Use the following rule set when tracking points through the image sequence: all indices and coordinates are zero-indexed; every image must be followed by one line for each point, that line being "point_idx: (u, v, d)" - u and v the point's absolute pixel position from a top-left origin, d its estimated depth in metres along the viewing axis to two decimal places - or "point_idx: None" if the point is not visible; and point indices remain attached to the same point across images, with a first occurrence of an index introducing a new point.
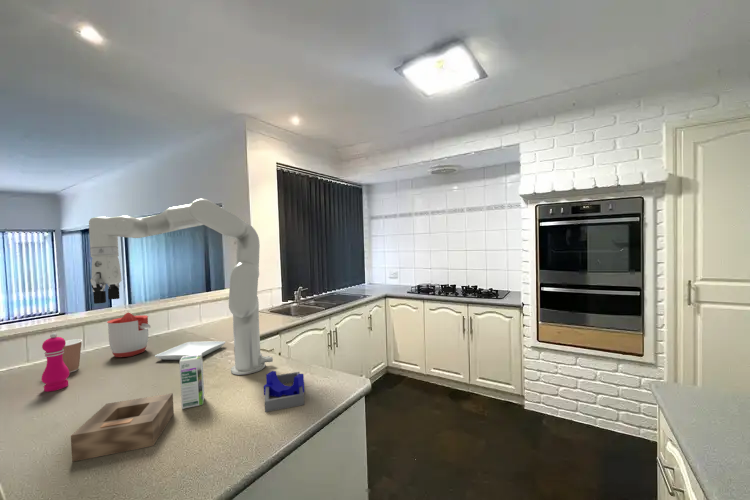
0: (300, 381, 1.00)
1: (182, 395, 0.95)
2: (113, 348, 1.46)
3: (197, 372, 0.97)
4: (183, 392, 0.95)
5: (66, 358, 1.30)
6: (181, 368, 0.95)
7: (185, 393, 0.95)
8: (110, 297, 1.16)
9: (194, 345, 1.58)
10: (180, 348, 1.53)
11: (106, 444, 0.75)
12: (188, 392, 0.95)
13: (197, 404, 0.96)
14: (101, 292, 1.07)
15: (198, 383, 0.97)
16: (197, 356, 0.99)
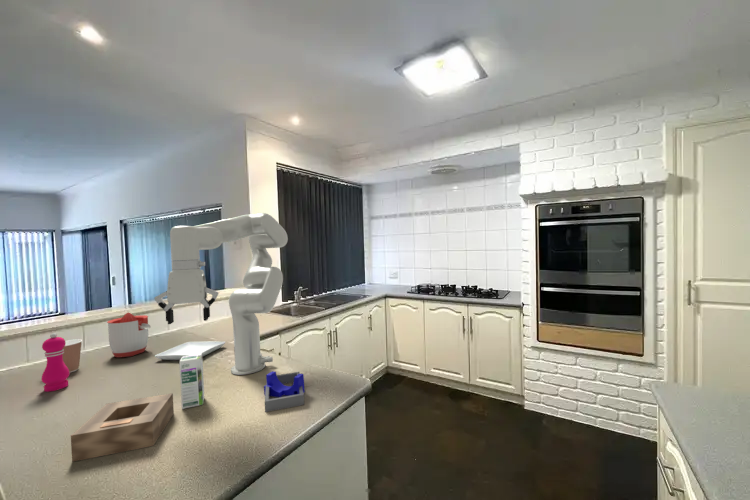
0: (300, 381, 1.00)
1: (182, 395, 0.95)
2: (113, 348, 1.46)
3: (197, 372, 0.97)
4: (183, 392, 0.95)
5: (66, 358, 1.30)
6: (181, 368, 0.95)
7: (185, 393, 0.95)
8: (171, 321, 0.96)
9: (194, 345, 1.58)
10: (180, 348, 1.53)
11: (106, 444, 0.75)
12: (188, 392, 0.95)
13: (197, 404, 0.96)
14: None
15: (198, 383, 0.97)
16: (197, 356, 0.99)
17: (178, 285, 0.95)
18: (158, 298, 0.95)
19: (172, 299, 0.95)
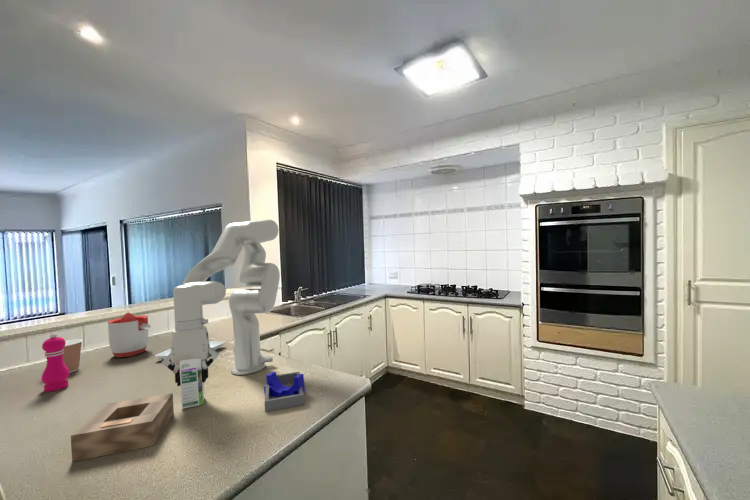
0: (301, 381, 1.00)
1: (182, 395, 0.95)
2: (113, 348, 1.46)
3: (197, 372, 0.97)
4: (183, 392, 0.95)
5: (66, 358, 1.30)
6: (181, 368, 0.95)
7: (185, 393, 0.95)
8: (180, 383, 0.97)
9: None
10: None
11: (106, 444, 0.75)
12: (188, 392, 0.95)
13: (197, 404, 0.96)
14: None
15: (198, 383, 0.97)
16: None
17: (181, 345, 0.96)
18: (165, 361, 0.96)
19: (175, 359, 0.95)
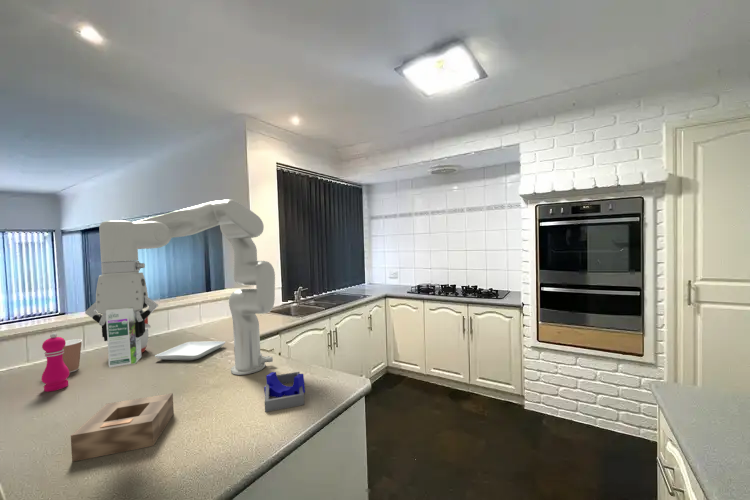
0: (301, 381, 1.00)
1: (109, 351, 0.79)
2: None
3: (129, 324, 0.81)
4: (110, 347, 0.79)
5: (66, 358, 1.30)
6: (108, 318, 0.79)
7: (113, 349, 0.79)
8: None
9: (194, 345, 1.58)
10: (180, 348, 1.53)
11: (106, 444, 0.75)
12: (116, 348, 0.79)
13: (128, 362, 0.80)
14: None
15: (129, 337, 0.81)
16: None
17: (109, 291, 0.80)
18: (89, 311, 0.80)
19: (101, 308, 0.79)
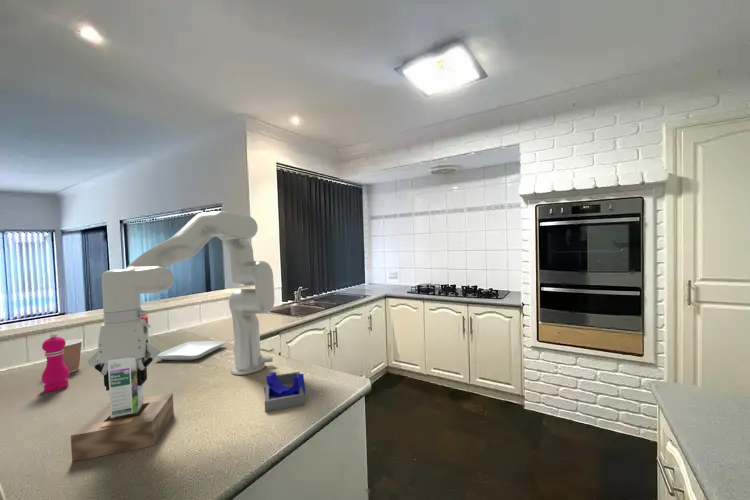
0: (301, 381, 1.00)
1: (111, 401, 0.79)
2: None
3: (131, 373, 0.81)
4: (112, 397, 0.79)
5: (66, 358, 1.30)
6: (110, 369, 0.79)
7: (115, 399, 0.79)
8: None
9: (194, 345, 1.58)
10: (180, 348, 1.53)
11: (106, 444, 0.75)
12: (118, 398, 0.79)
13: (130, 412, 0.80)
14: None
15: (131, 386, 0.81)
16: None
17: (111, 341, 0.80)
18: (91, 360, 0.80)
19: (103, 358, 0.79)
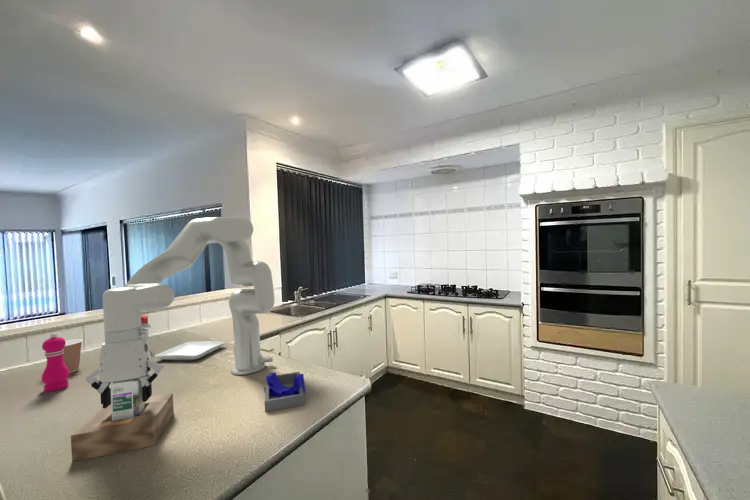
0: (301, 381, 1.00)
1: None
2: None
3: (133, 397, 0.81)
4: None
5: (66, 358, 1.30)
6: (113, 393, 0.80)
7: None
8: (107, 404, 0.80)
9: (194, 345, 1.58)
10: (180, 348, 1.53)
11: (106, 444, 0.75)
12: None
13: None
14: None
15: (133, 410, 0.81)
16: None
17: (112, 360, 0.80)
18: (89, 377, 0.80)
19: (104, 377, 0.79)
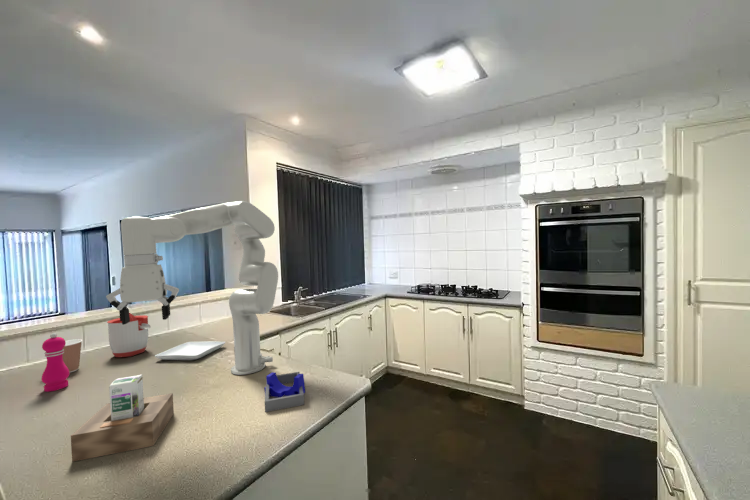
0: (301, 381, 1.00)
1: None
2: (113, 348, 1.46)
3: (132, 398, 0.81)
4: None
5: (66, 358, 1.30)
6: (111, 394, 0.79)
7: None
8: (126, 321, 0.88)
9: (194, 345, 1.58)
10: (180, 348, 1.53)
11: (106, 444, 0.75)
12: None
13: None
14: None
15: (132, 411, 0.81)
16: (133, 378, 0.83)
17: (132, 282, 0.87)
18: (110, 296, 0.87)
19: (125, 297, 0.87)
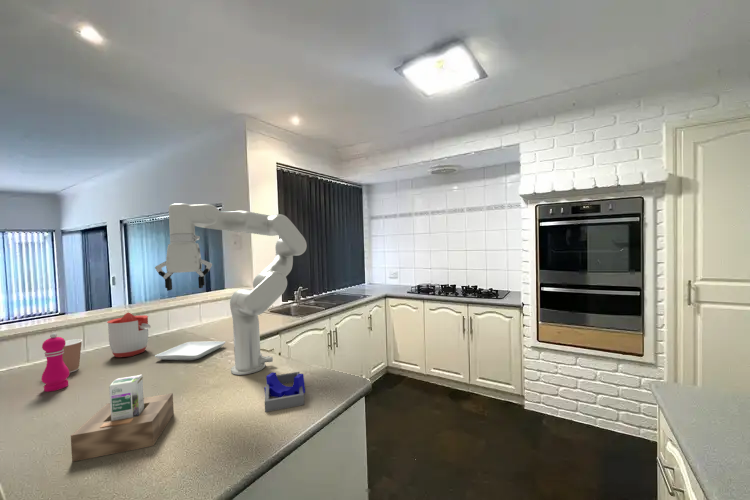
0: (301, 381, 1.00)
1: None
2: (113, 348, 1.46)
3: (132, 398, 0.81)
4: None
5: (66, 358, 1.30)
6: (111, 394, 0.79)
7: None
8: (169, 288, 1.08)
9: (194, 345, 1.58)
10: (180, 348, 1.53)
11: (106, 444, 0.75)
12: None
13: None
14: None
15: (132, 411, 0.81)
16: (133, 378, 0.83)
17: (176, 256, 1.08)
18: (158, 267, 1.08)
19: (170, 268, 1.07)
